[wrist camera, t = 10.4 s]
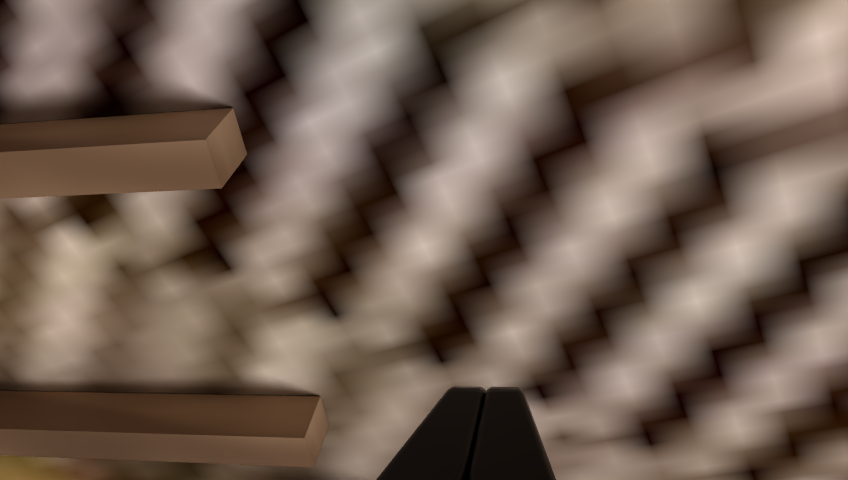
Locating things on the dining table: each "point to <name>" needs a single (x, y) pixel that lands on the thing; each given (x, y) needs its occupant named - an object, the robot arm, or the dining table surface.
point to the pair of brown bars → (142, 412)
